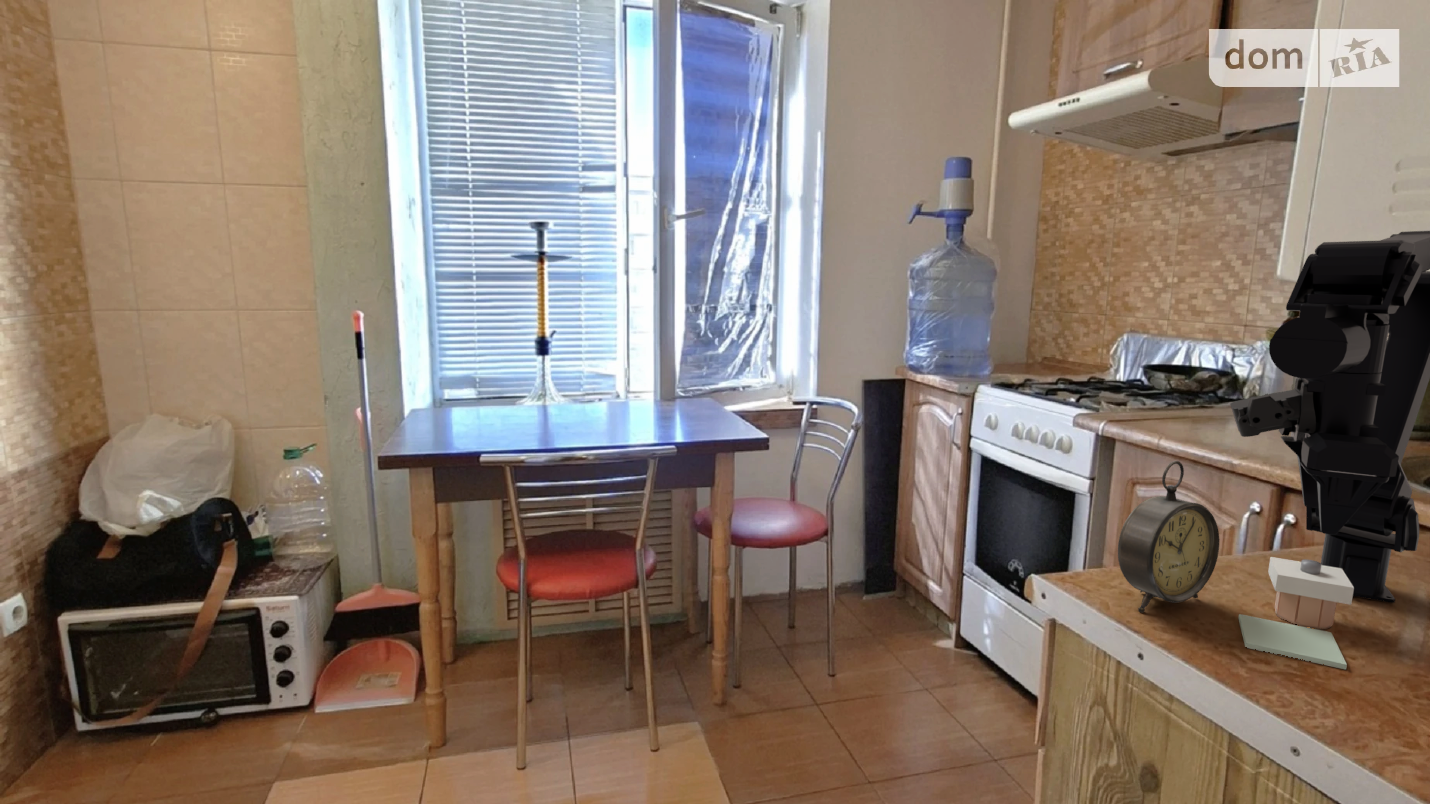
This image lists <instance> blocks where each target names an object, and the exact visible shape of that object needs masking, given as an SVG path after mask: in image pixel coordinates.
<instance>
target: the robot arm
mask: <svg viewBox="0 0 1430 804" xmlns="http://www.w3.org/2000/svg"><path fill="white" fill-rule="evenodd" d="M1304 261H1305V262H1304V264H1303V266H1302V268H1301V271H1300V273H1299V275H1298V277H1297V280H1296V282H1295V285H1294V287H1293V290H1292V291H1291V294H1290V296H1289V298H1288V301H1287V302H1286V305H1285V309H1286V311H1288V312H1289V311H1290V312H1291V311H1292V312H1299V314H1298V315H1299V316H1297V317H1294V318H1292V319H1290V320H1288V321H1286V322H1285V323H1283V324H1281V325H1280V327H1278V328H1277V330H1275V332H1274V334H1273V335H1272V337H1271V338H1270V340H1269V344H1268V353H1269V356H1270V359H1271V361H1272V363H1273V364H1274V366H1275V367H1276V368H1277V369H1278V370H1279V371H1281V372H1283V373H1284V374H1286V375H1288V376H1291V377H1294V378H1295V381H1294V389H1289V390H1284V391H1279V392H1278V391H1277V392H1271V393H1269V394H1268V393H1265V394H1263V395H1262V394H1261V395H1258V396H1250V397H1249V398H1248V397H1247V398H1243V399H1239V400H1234V401H1232V402H1230V403H1229V406H1230V408H1231V411H1232V412H1231V413H1232V414H1233V417H1234V421H1235V424H1236V427H1237V430H1238V432H1239V433H1240V436H1241V437H1243V438H1246V437H1247V438H1248V437H1249V438H1250V437H1256V436H1260V434H1261V433H1267V432H1270V431H1277V430H1278V432H1279V433H1280V435H1281V436H1280V438H1281V441H1283V443H1284V444H1285V445H1286V446H1287V447H1288V448H1289V449H1291V451H1292V453H1294V454H1295V455H1296V457H1297V463H1298V472H1299V477H1300V486H1301V492H1302V501H1303V505H1304V507H1306V511H1305V512H1306V515H1305V517H1306V521H1305V522H1306V523H1305V526H1306V528H1305V529H1306V530H1307V531H1311V532H1314V531H1315V532H1318V533H1321V534H1324V541H1323V546H1322V547H1323V548H1322V552H1321V553H1322V554H1321V560H1320V563H1321V564H1322V565H1324V566H1330V567H1336V568H1342V570H1343V571H1344V573H1345V574H1346V576H1347V577H1348V579H1349V581H1350V582H1351V584H1352V585H1353V587H1354V591H1353V597H1356V598H1357V597H1358V598H1362V599H1368V600H1374V601H1378V602H1383V603H1384V602H1385V603H1391V604H1393V603H1396V602H1395V600H1396V598H1395V597H1394V595H1393V594H1392V593H1391V591H1390V590H1389V588H1388V587H1387V586H1386V581H1387V576H1388V570H1389V565H1390V560H1391V559H1390V558H1391V553H1392V550H1393V551H1395V552H1398V553H1403V552H1404V551H1410V552H1415V551H1417V550H1418V545H1419V540H1420V539H1419V538H1420V522H1419V521H1420V519H1419V513H1418V511H1417V510H1416V505H1415V500H1414V499H1413V498H1412V494H1413V489H1412V486H1411V485H1410V482H1409V481H1408V478H1407V475H1406V474H1405V472H1404V469H1403V467H1402V461H1403V459H1404V456H1405V452H1406V450H1407V447H1408V444H1409V441H1410V438H1411V436H1412V433H1413V429H1414V426H1415V423H1416V421H1417V417H1418V413H1419V412H1420V408H1421V406H1422V403H1423V400H1424V397H1425V394H1426V390H1427V387H1428V385H1429V382H1430V271H1429V270H1430V230H1417V231H1416V230H1415V231H1414V230H1413V231H1411V230H1410V231H1400V232H1399V233H1395V234H1391V235H1390V236H1389V237H1386V238H1384V239H1380V240H1357V241H1355V240H1354V241H1353V240H1352V241H1327V242H1326V241H1324V242H1322V243H1321V244H1319V245H1317V247H1316V248H1315V250H1314V253H1311V254H1309V255H1308V256H1307V258H1306V260H1304ZM1393 532H1395V533H1393Z"/></svg>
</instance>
